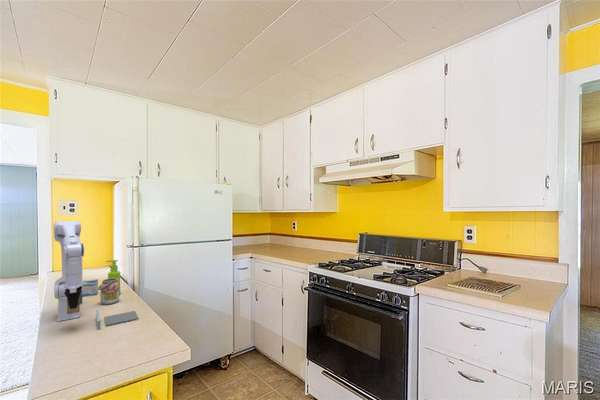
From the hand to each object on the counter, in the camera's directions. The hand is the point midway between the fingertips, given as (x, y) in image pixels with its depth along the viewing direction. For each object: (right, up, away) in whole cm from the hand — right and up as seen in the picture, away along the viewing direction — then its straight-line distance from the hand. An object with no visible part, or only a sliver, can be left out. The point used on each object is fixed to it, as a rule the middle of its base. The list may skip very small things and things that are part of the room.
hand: (73, 306), depth 119 cm
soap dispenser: (-14, -11, +47) cm, 50 cm away
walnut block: (0, -2, 0) cm, 2 cm away
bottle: (-24, -11, +32) cm, 41 cm away
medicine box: (-28, -11, +48) cm, 57 cm away
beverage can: (-7, -10, +33) cm, 35 cm away
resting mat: (+14, -9, +10) cm, 19 cm away
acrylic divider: (+7, -9, +5) cm, 12 cm away
